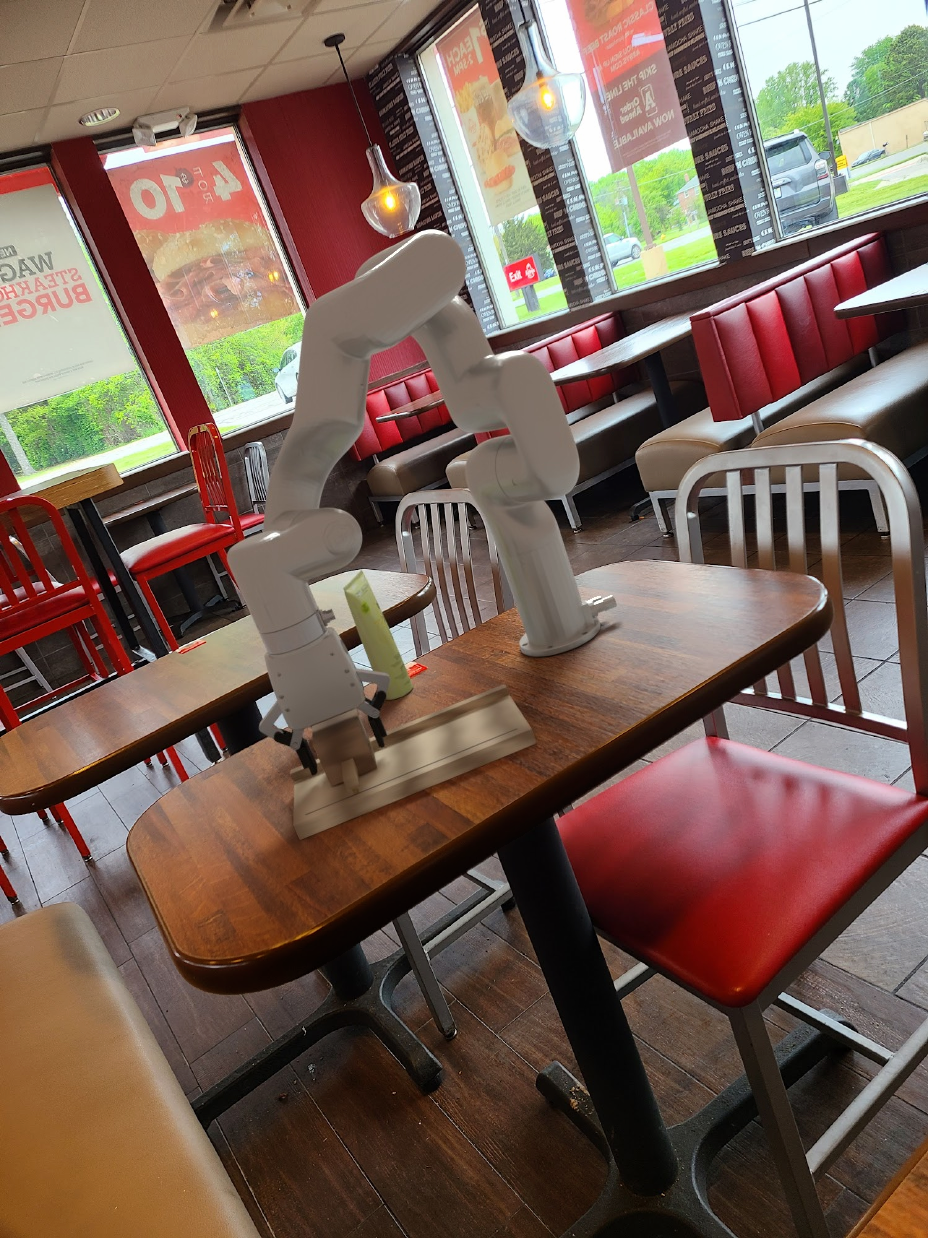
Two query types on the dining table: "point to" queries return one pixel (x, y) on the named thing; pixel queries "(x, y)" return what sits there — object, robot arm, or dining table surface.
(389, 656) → the tube
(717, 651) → the dining table surface
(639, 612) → the dining table surface
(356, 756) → the tan block with peg
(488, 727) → the board
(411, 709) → the dining table surface
